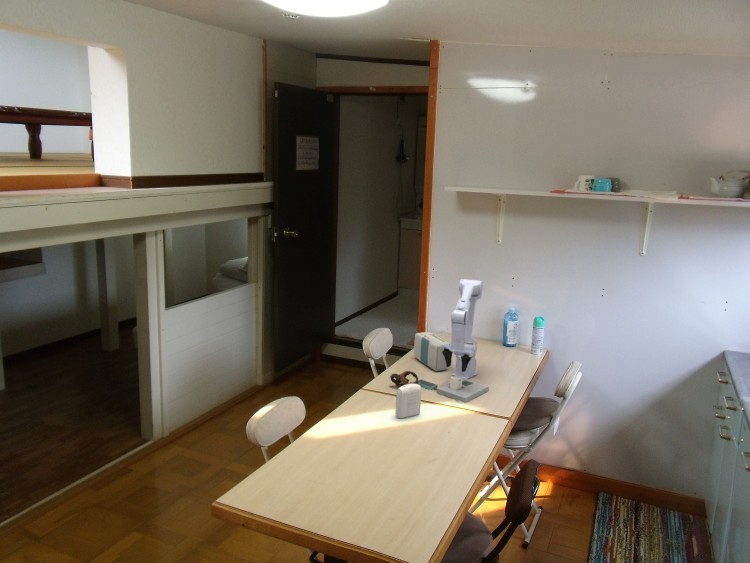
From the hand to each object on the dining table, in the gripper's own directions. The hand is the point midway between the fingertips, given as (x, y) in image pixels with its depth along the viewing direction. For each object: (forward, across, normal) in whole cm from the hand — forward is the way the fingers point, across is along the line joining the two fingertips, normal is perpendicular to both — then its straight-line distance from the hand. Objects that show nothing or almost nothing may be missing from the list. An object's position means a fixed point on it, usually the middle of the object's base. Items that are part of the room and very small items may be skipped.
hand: (456, 368), depth 259 cm
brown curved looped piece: (+10, -18, -13) cm, 24 cm away
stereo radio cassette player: (+10, -27, +20) cm, 35 cm away
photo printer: (+10, +1, -34) cm, 35 cm away
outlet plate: (+10, +3, +1) cm, 10 cm away
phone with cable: (+10, -10, -5) cm, 15 cm away
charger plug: (+10, +1, -1) cm, 10 cm away
